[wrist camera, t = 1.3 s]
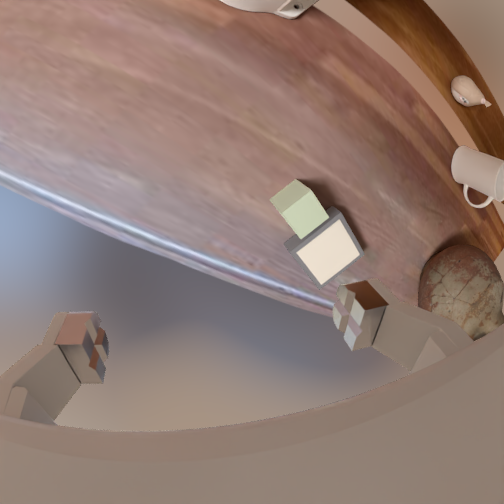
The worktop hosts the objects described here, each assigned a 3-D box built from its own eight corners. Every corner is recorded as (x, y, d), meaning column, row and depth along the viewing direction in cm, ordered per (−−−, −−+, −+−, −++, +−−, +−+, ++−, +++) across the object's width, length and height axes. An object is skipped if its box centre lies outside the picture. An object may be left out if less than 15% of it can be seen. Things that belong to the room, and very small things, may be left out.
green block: (295, 178, 41) (311, 190, 36) (312, 203, 43) (329, 217, 38) (269, 199, 41) (281, 213, 36) (287, 222, 44) (300, 239, 39)
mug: (456, 201, 50) (495, 223, 39) (439, 183, 46) (482, 204, 36) (476, 159, 46) (515, 175, 35) (460, 137, 42) (504, 151, 32)
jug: (465, 266, 61) (537, 332, 35) (412, 319, 65) (476, 400, 39) (452, 211, 51) (554, 281, 25) (388, 274, 54) (480, 376, 29)
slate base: (332, 205, 44) (341, 212, 41) (356, 246, 49) (365, 254, 46) (283, 243, 45) (289, 252, 43) (312, 280, 50) (319, 290, 48)
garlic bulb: (451, 108, 39) (481, 114, 32) (442, 78, 36) (473, 81, 29) (466, 100, 38) (495, 105, 32) (458, 71, 35) (488, 74, 28)
